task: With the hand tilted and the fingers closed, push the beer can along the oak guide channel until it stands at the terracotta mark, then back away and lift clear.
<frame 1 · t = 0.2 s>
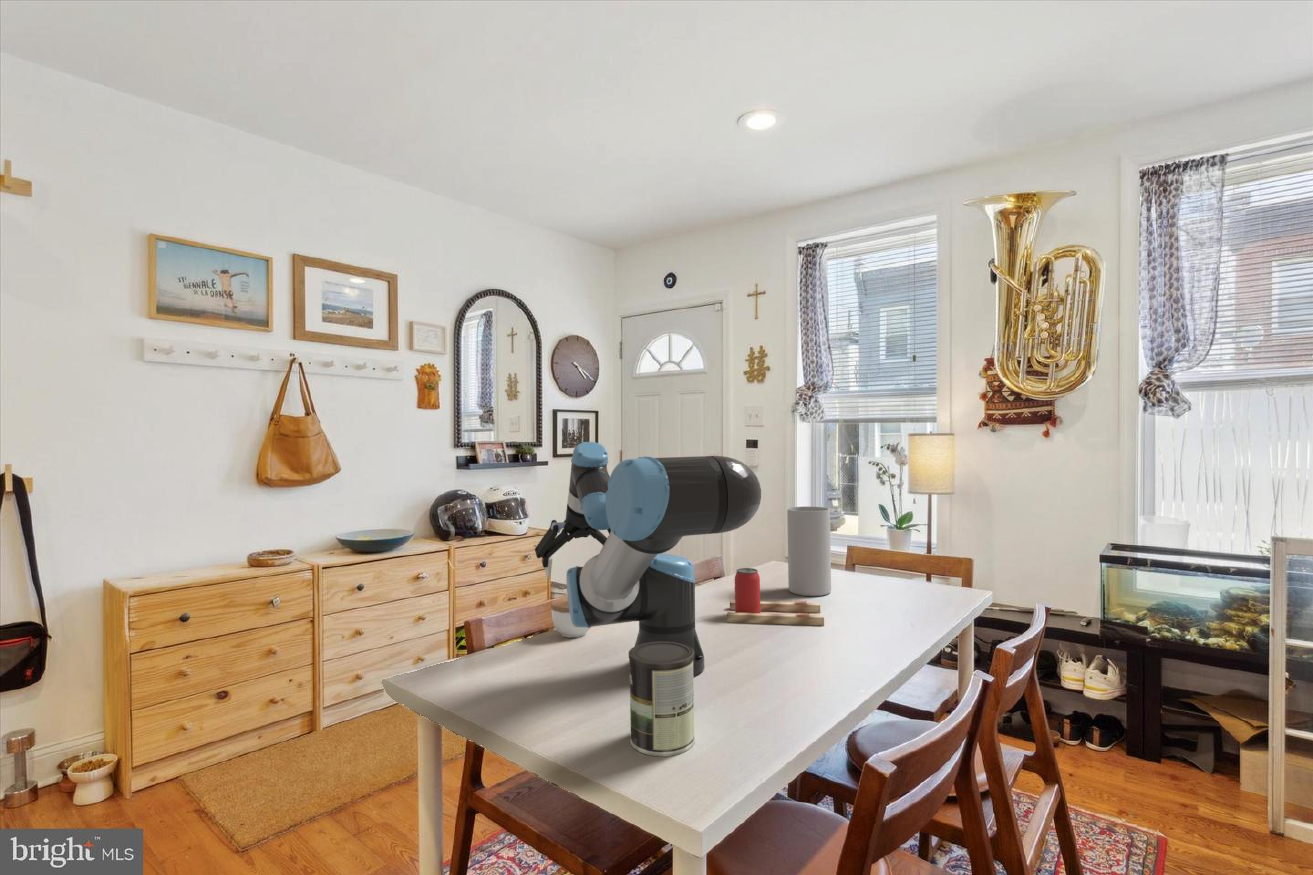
hand: (575, 571, 155), 15 cm above the table, tool tilted 35°, fingers open, 13 cm apart
cylinder vase: (809, 592, 192), on the table
channel: (774, 616, 167), on the table
beer can: (747, 616, 168), on the table
lidded jar: (573, 634, 156), on the table
coffee can: (662, 741, 100), on the table
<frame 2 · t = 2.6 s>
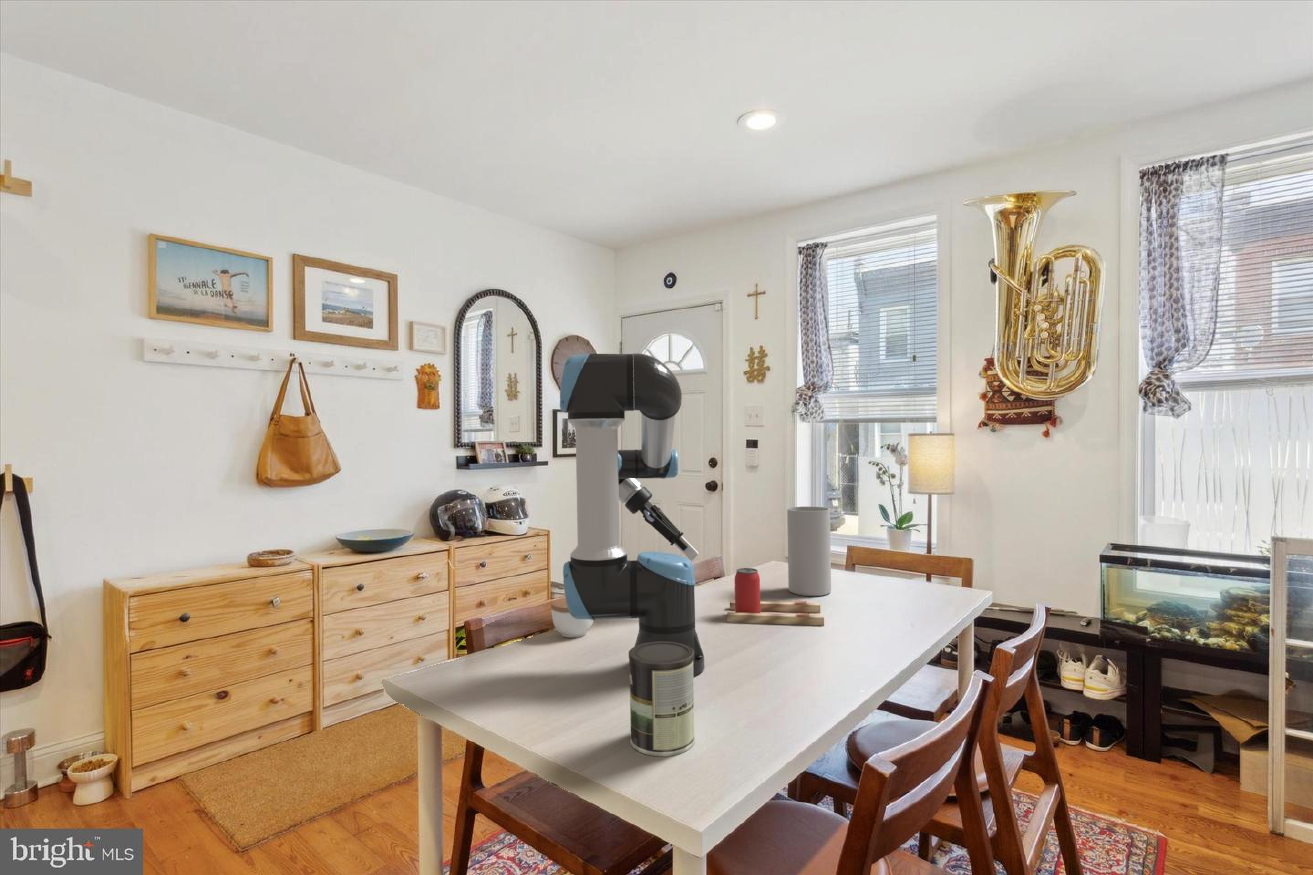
hand: (695, 557, 171), 15 cm above the table, tool tilted 45°, fingers closed
nothing on the table moved.
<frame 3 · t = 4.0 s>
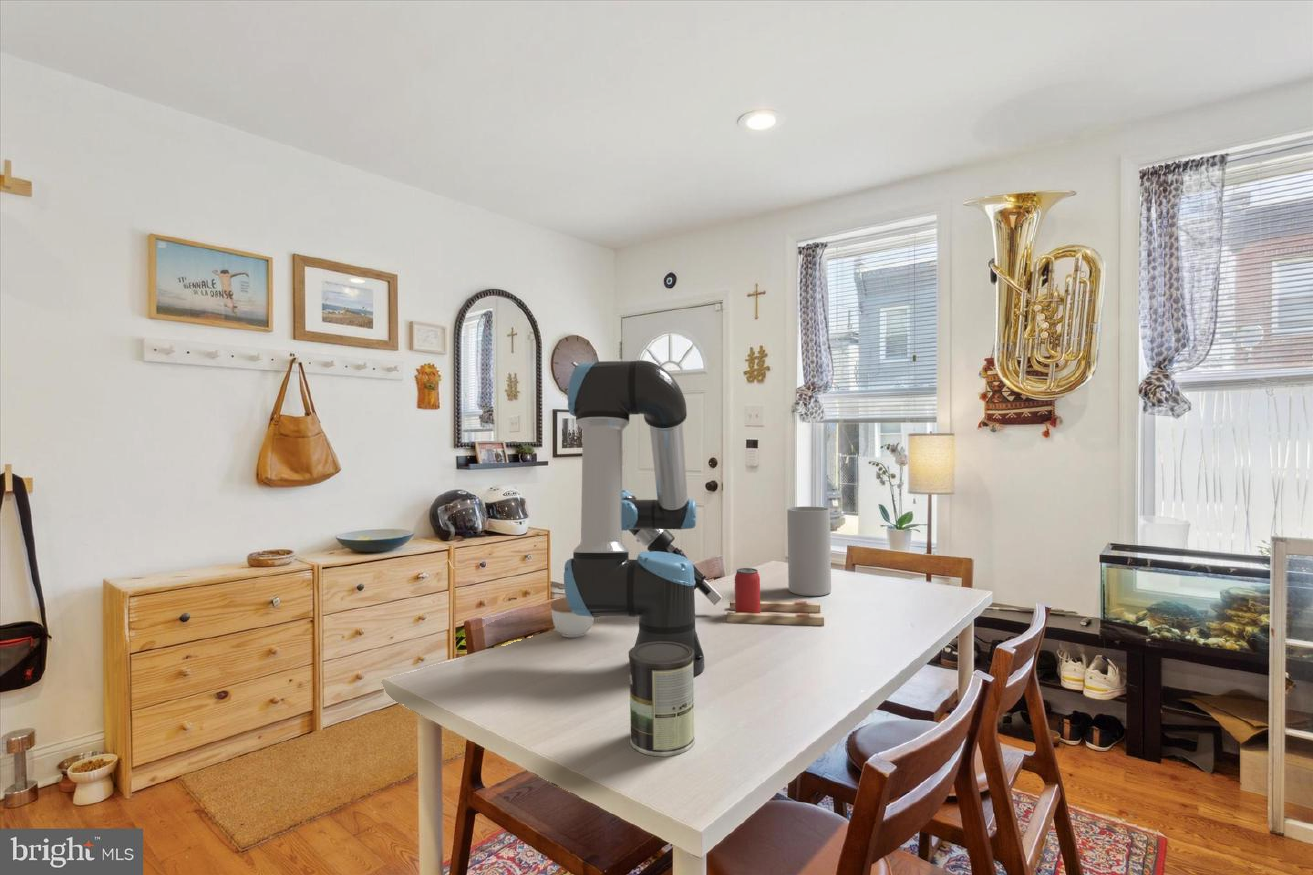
hand: (718, 601, 170), 4 cm above the table, tool tilted 45°, fingers closed
nothing on the table moved.
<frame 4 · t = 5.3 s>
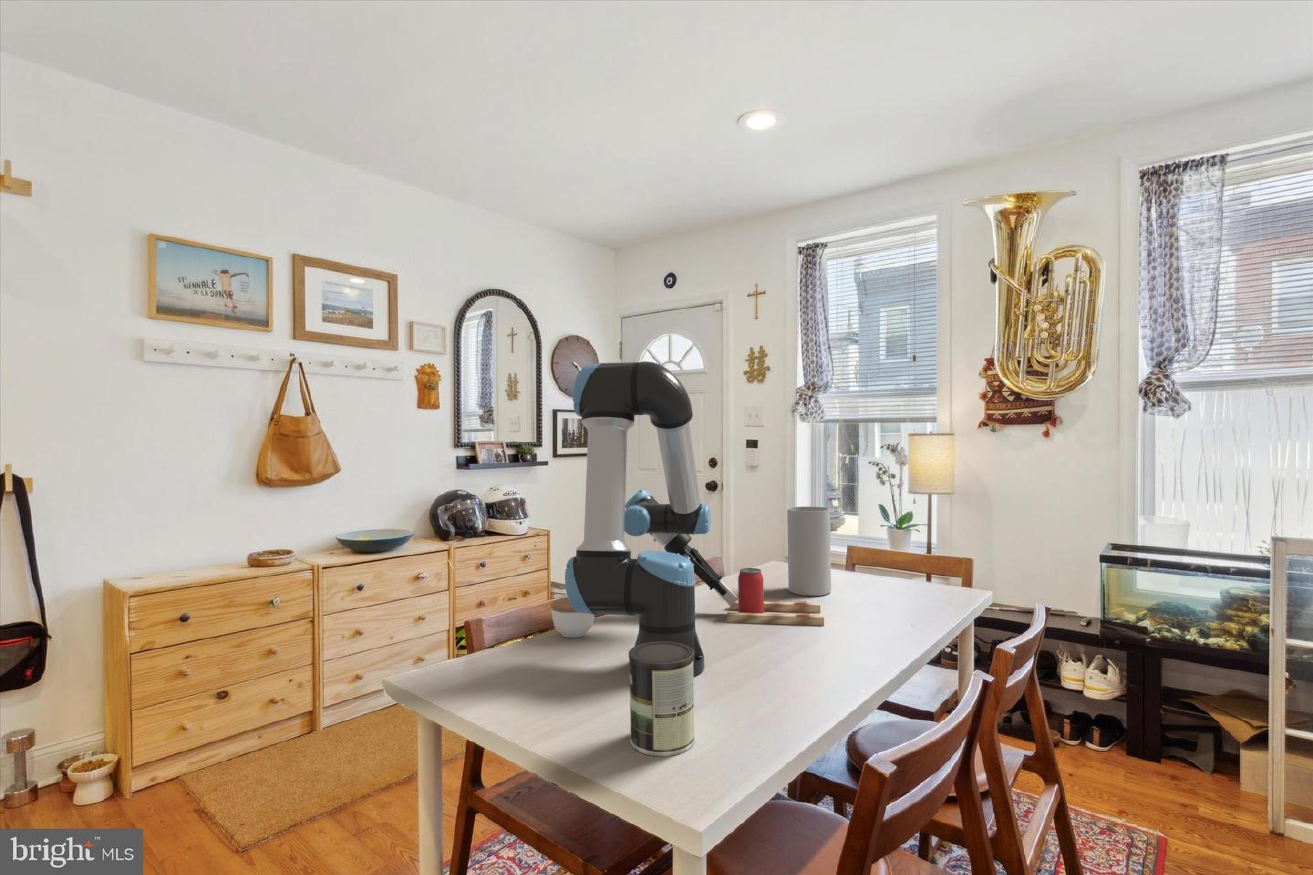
hand: (734, 602, 170), 3 cm above the table, tool tilted 45°, fingers closed
beer can: (751, 616, 168), on the table, touching gripper
everything else where it was.
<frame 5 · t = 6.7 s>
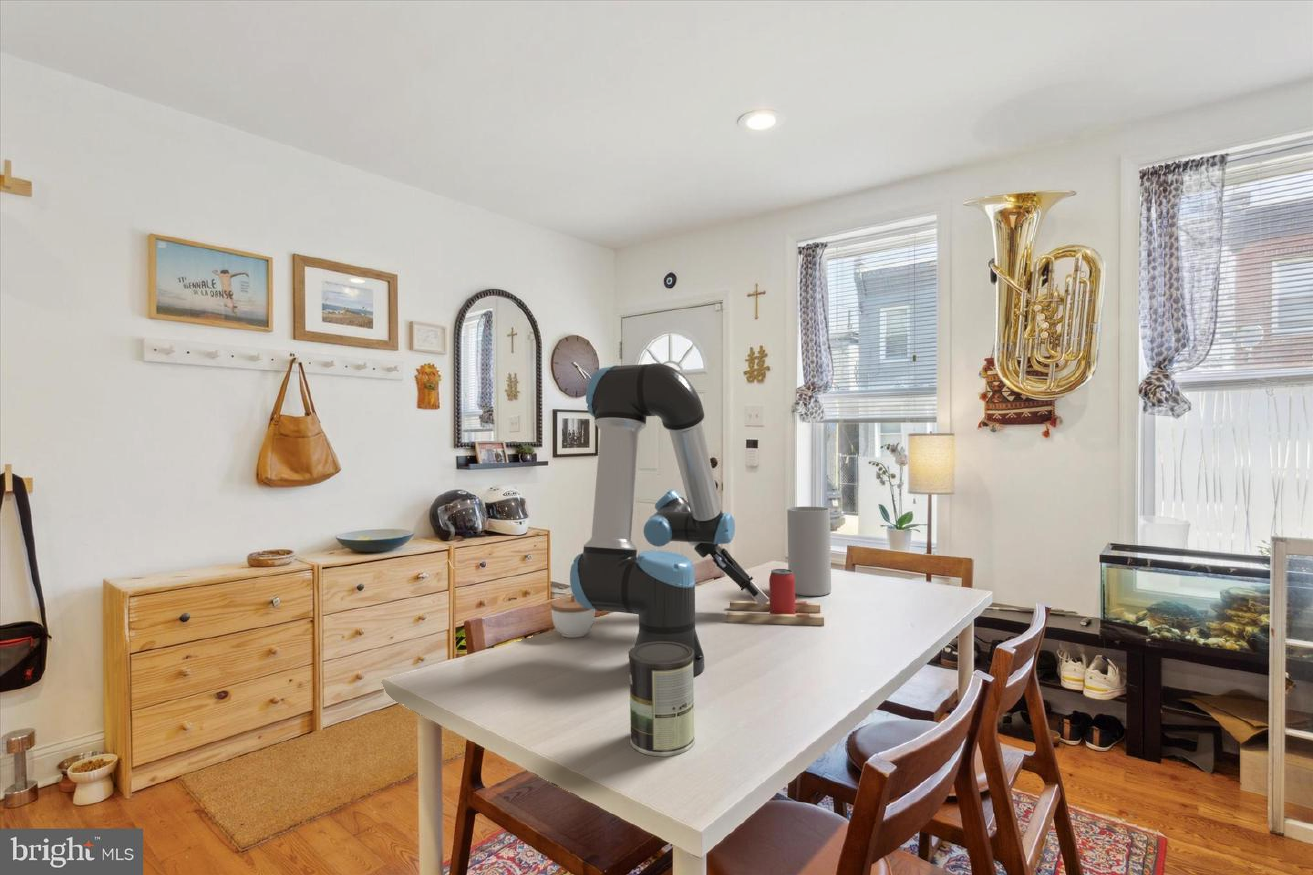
hand: (765, 602, 169), 3 cm above the table, tool tilted 45°, fingers closed
beer can: (782, 617, 167), on the table, touching gripper
everything else where it was.
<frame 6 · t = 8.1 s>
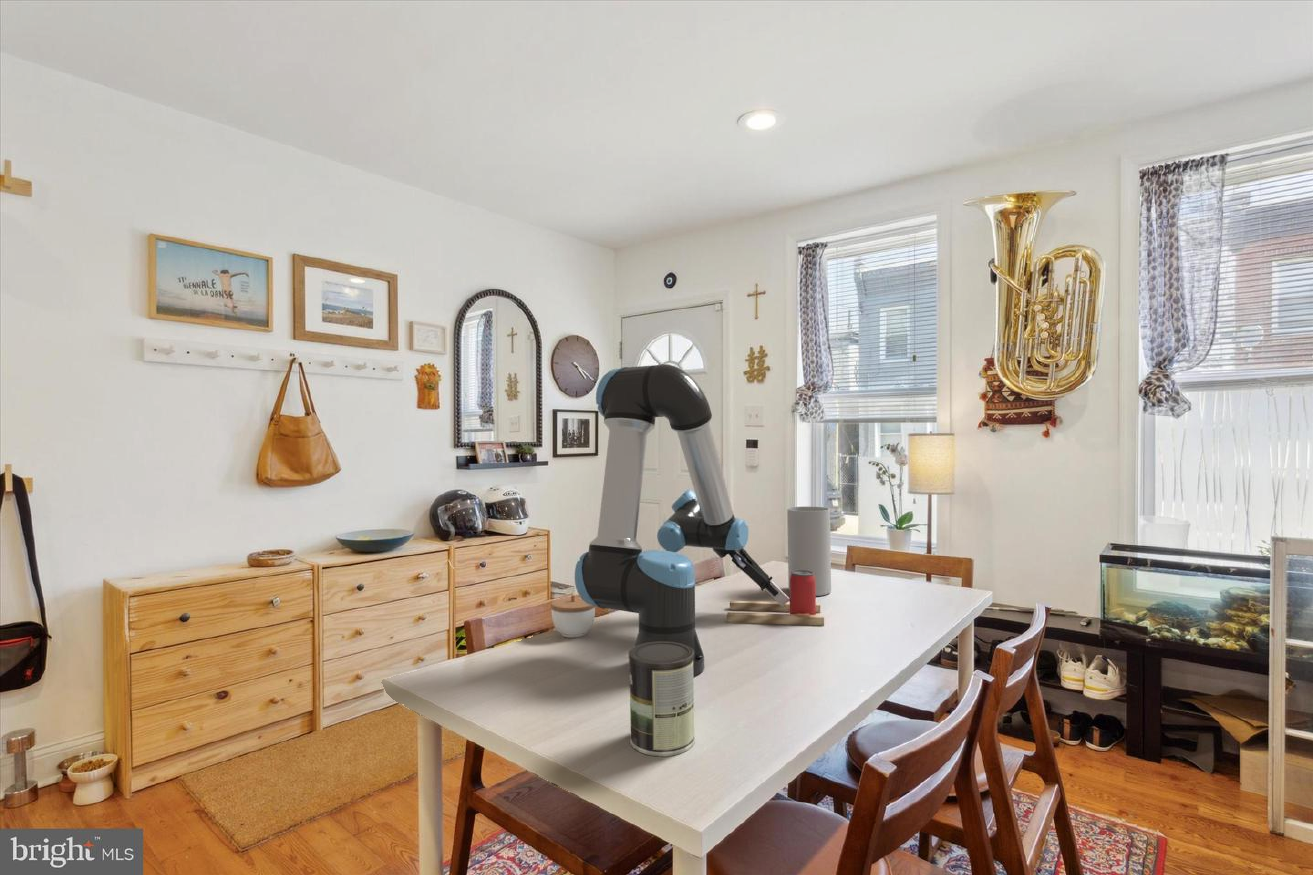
hand: (785, 602, 167), 4 cm above the table, tool tilted 45°, fingers closed
beer can: (802, 619, 165), on the table, touching channel, gripper
everything else where it was.
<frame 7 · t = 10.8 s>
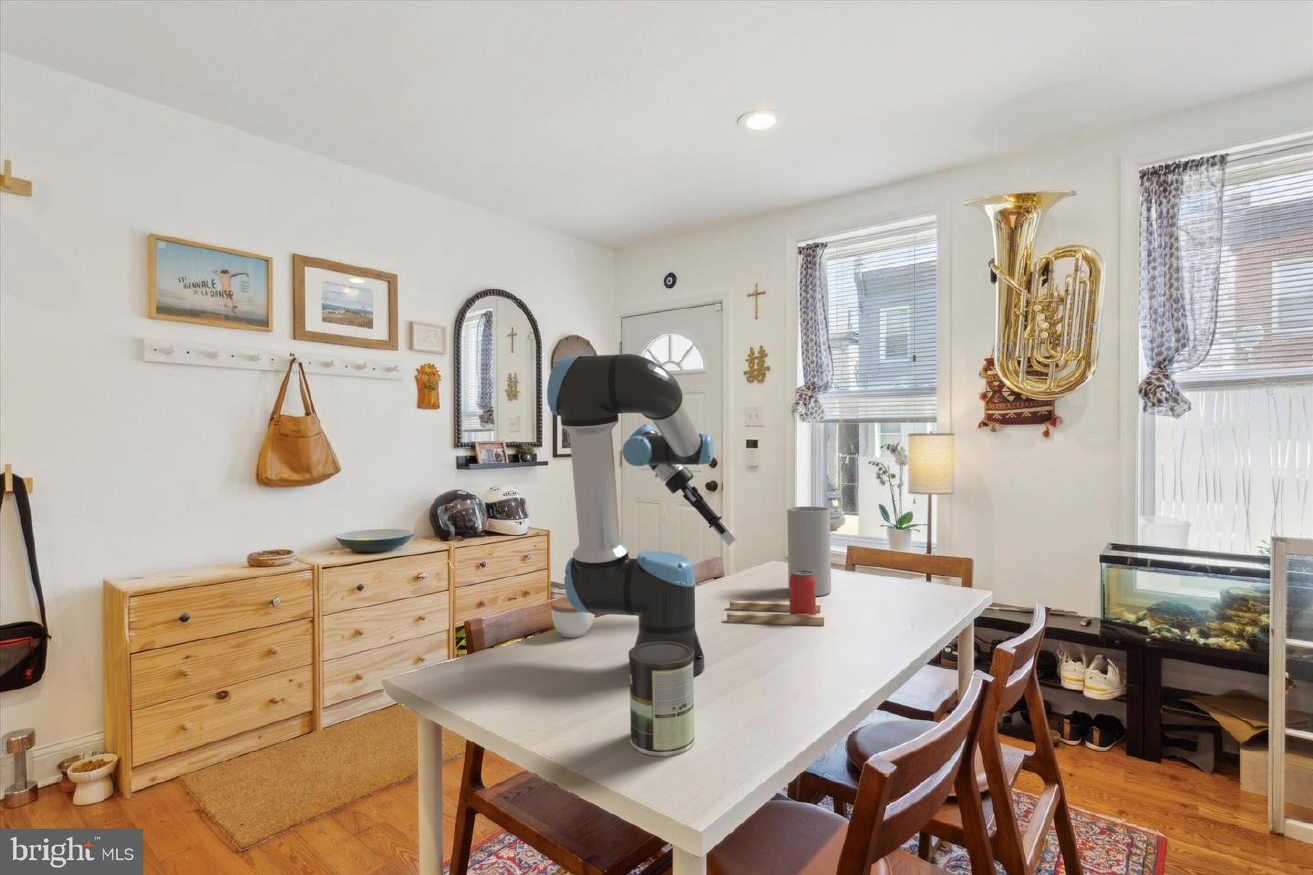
hand: (732, 542, 169), 19 cm above the table, tool tilted 40°, fingers closed
beer can: (802, 619, 165), on the table
everything else where it was.
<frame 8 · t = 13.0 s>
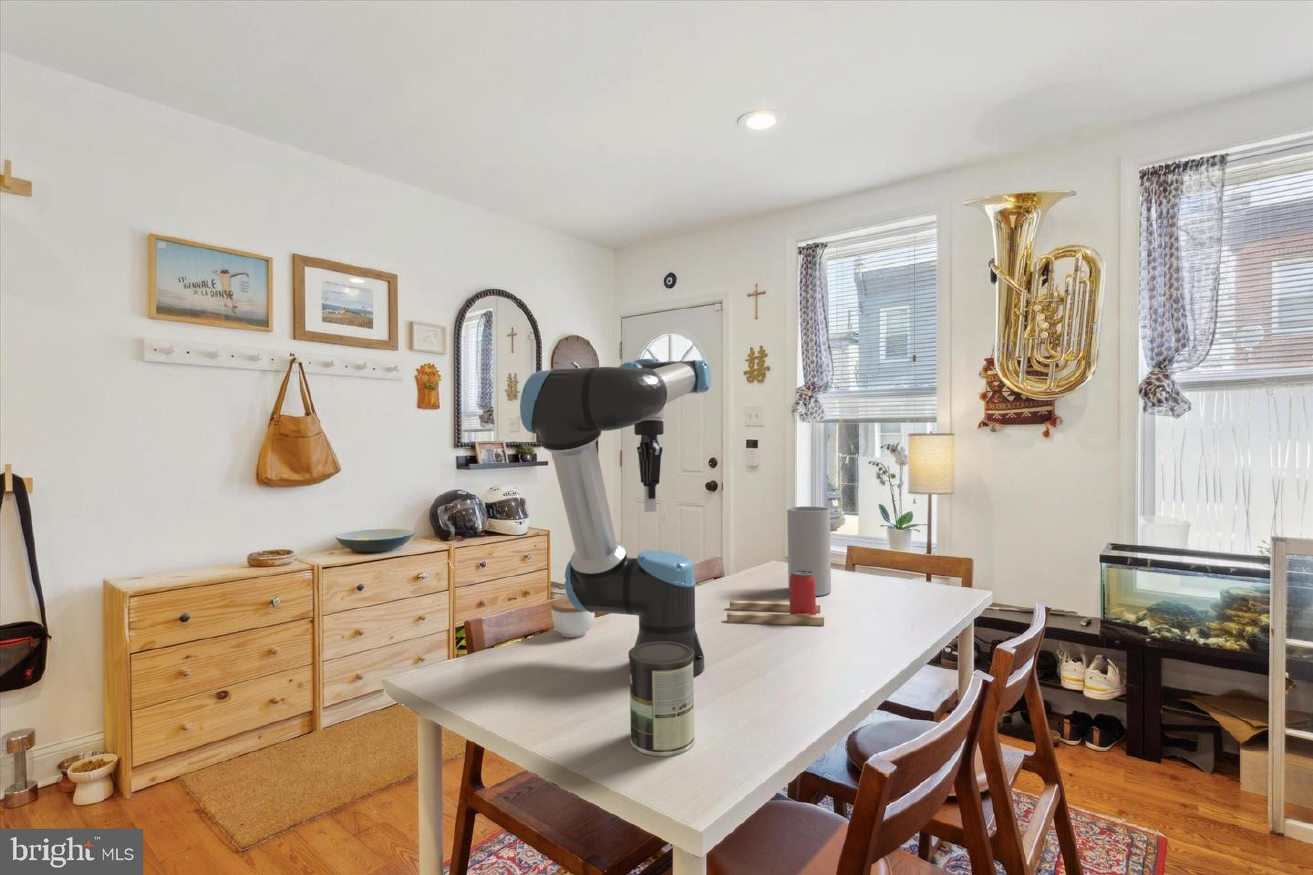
hand: (650, 511, 164), 28 cm above the table, tool pointing down, fingers closed
nothing on the table moved.
at the end: beer can inside the target area on the channel (1.5 cm from its centre), point 0.0 cm above the channel's base; beer can tilted 0°; beer can moved 14.2 cm from its start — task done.
